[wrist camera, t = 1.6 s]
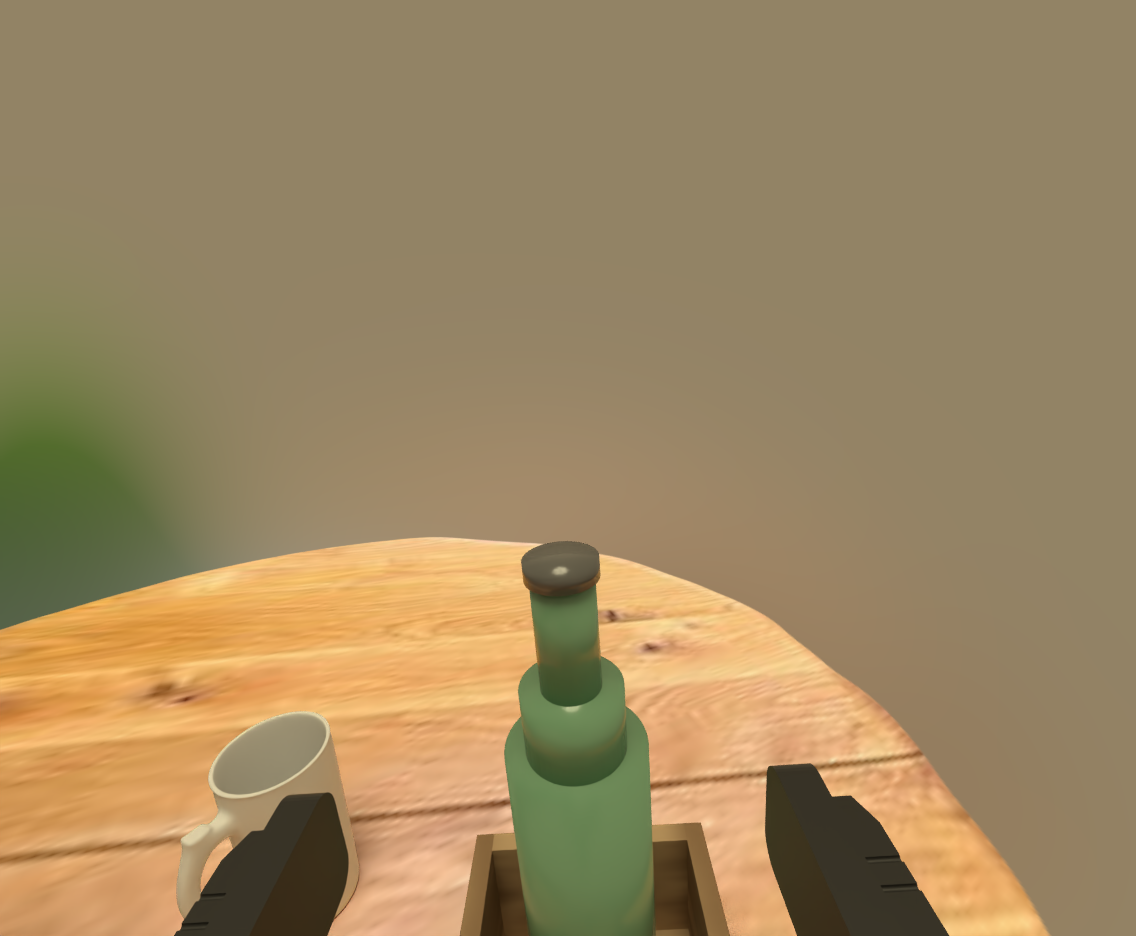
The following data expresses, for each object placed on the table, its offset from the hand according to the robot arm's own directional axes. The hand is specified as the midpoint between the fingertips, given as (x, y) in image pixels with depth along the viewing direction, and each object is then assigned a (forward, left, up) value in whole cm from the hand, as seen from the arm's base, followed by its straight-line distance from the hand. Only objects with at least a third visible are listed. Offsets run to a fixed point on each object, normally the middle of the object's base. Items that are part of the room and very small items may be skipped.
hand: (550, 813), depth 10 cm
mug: (-27, +1, -28) cm, 39 cm away
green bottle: (-7, +8, -27) cm, 29 cm away
